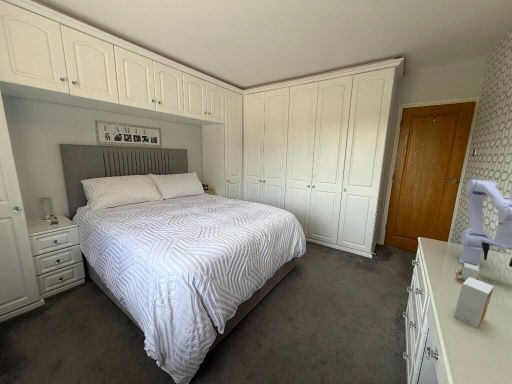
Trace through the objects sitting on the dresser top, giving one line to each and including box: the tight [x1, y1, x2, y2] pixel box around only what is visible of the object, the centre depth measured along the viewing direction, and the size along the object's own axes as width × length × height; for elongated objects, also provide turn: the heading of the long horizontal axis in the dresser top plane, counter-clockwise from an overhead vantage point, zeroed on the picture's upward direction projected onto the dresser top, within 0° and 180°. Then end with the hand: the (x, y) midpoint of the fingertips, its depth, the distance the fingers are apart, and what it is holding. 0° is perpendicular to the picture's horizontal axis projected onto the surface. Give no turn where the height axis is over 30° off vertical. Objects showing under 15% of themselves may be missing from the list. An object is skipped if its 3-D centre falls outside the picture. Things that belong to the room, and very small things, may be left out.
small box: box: [453, 277, 495, 329], centre depth 73 cm, size 8×6×13 cm
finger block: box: [461, 263, 480, 280], centre depth 95 cm, size 6×4×7 cm
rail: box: [454, 261, 481, 284], centre depth 98 cm, size 16×8×6 cm, turn 136°
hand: (497, 262), depth 95 cm, fingers open, 7 cm apart
